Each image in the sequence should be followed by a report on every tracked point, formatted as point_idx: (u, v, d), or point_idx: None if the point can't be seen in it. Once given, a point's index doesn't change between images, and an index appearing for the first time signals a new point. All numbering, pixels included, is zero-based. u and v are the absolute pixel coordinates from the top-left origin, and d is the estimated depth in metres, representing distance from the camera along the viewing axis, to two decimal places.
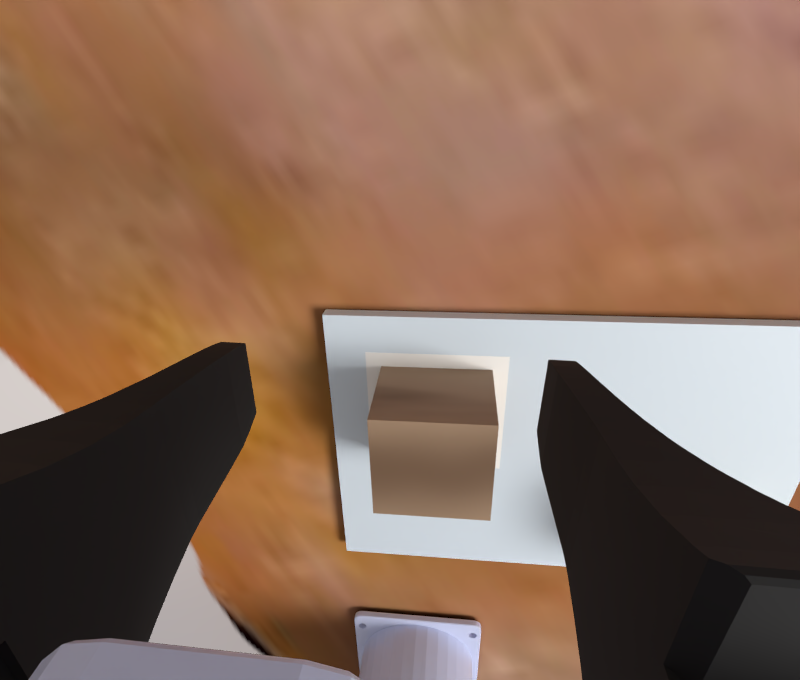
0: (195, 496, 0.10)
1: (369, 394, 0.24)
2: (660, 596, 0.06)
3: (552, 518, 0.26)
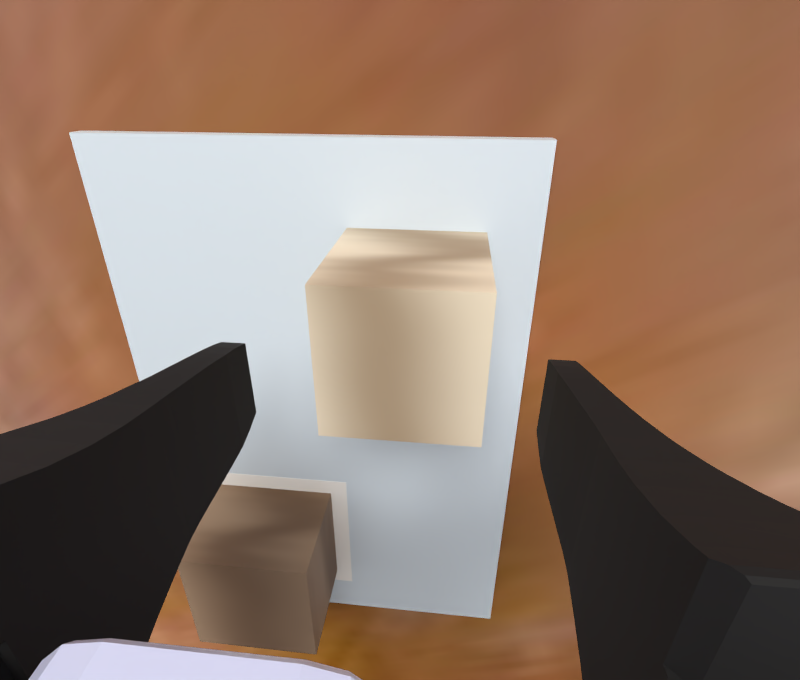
0: (195, 496, 0.10)
1: None
2: (660, 596, 0.06)
3: None
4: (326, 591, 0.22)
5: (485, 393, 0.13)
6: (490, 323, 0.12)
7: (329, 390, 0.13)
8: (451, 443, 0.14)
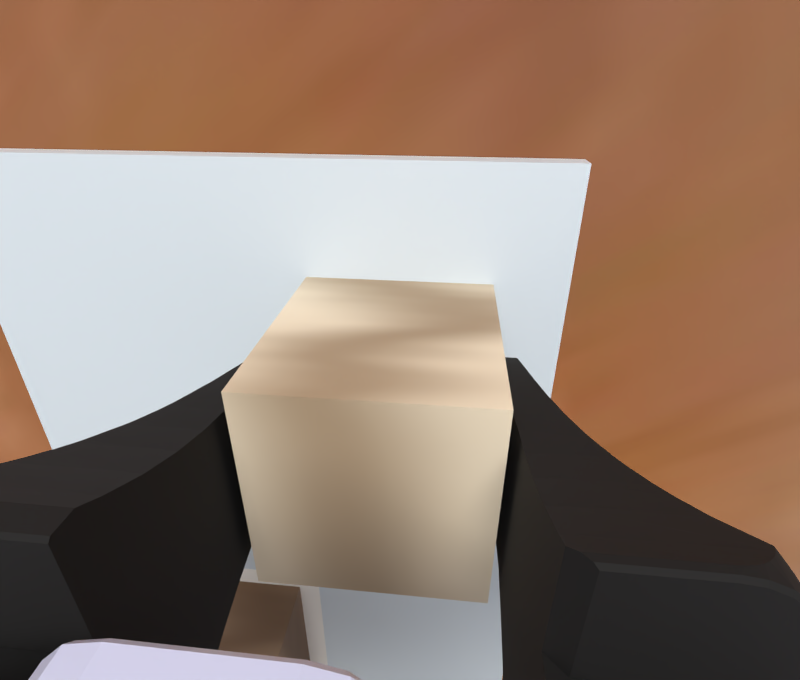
0: None
1: None
2: (542, 585, 0.06)
3: None
4: None
5: (494, 539, 0.09)
6: (502, 451, 0.08)
7: (269, 528, 0.09)
8: (445, 596, 0.10)
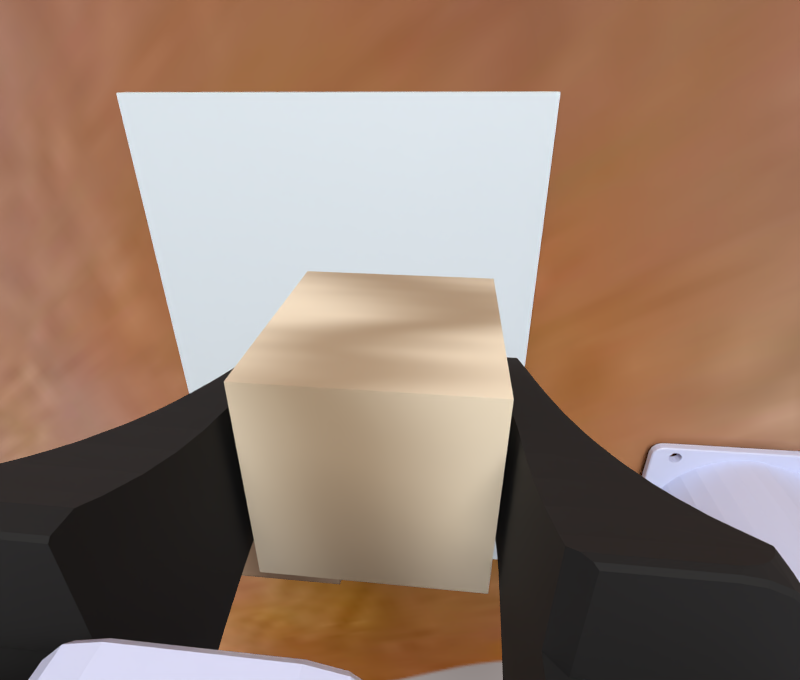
0: None
1: None
2: (541, 585, 0.06)
3: None
4: None
5: (494, 529, 0.09)
6: (503, 440, 0.08)
7: (270, 518, 0.09)
8: (446, 587, 0.10)
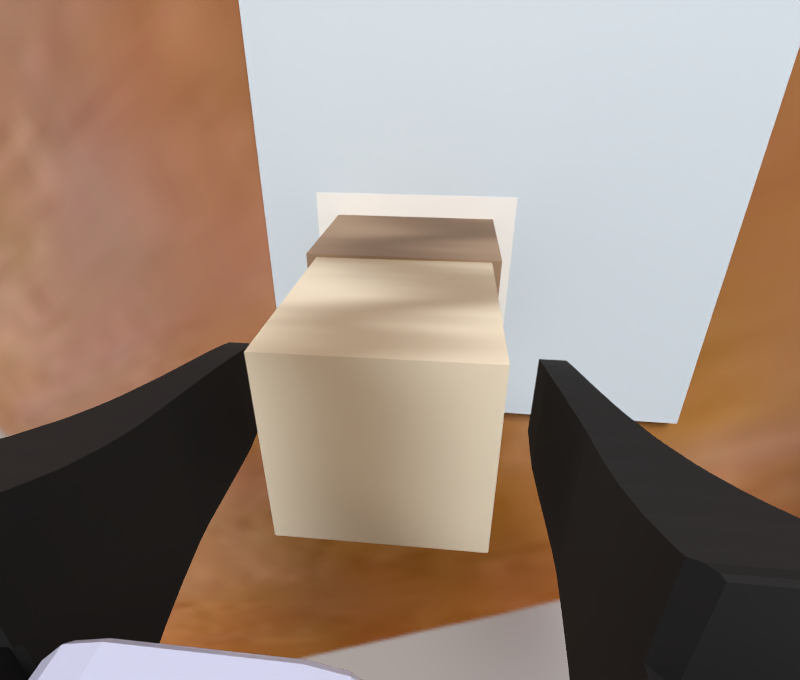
0: (205, 497, 0.10)
1: None
2: (641, 594, 0.06)
3: (646, 93, 0.14)
4: None
5: (493, 490, 0.10)
6: (500, 404, 0.09)
7: (286, 482, 0.10)
8: (449, 547, 0.10)
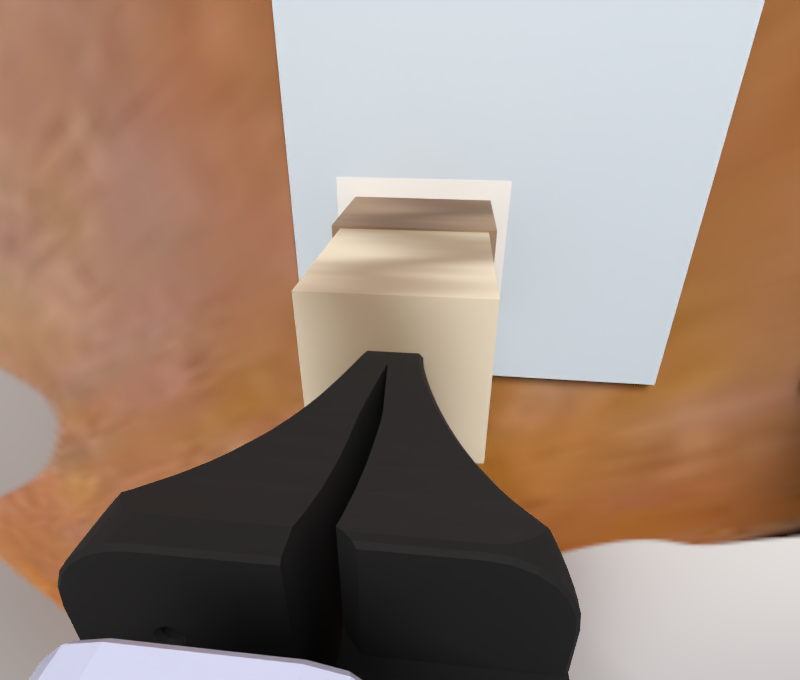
0: None
1: None
2: None
3: (622, 89, 0.16)
4: None
5: (487, 406, 0.12)
6: (493, 332, 0.11)
7: None
8: None
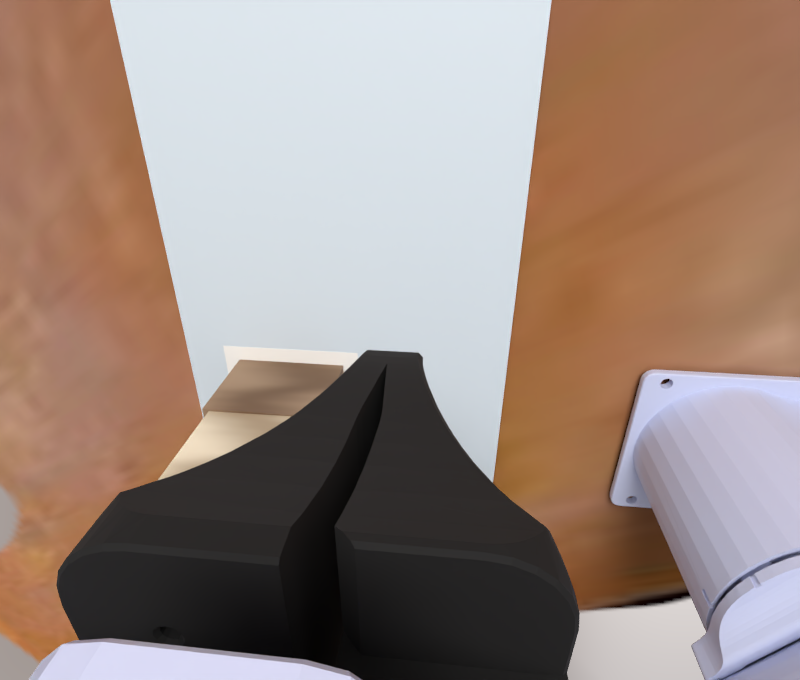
0: None
1: None
2: None
3: (429, 297, 0.21)
4: None
5: None
6: None
7: None
8: None
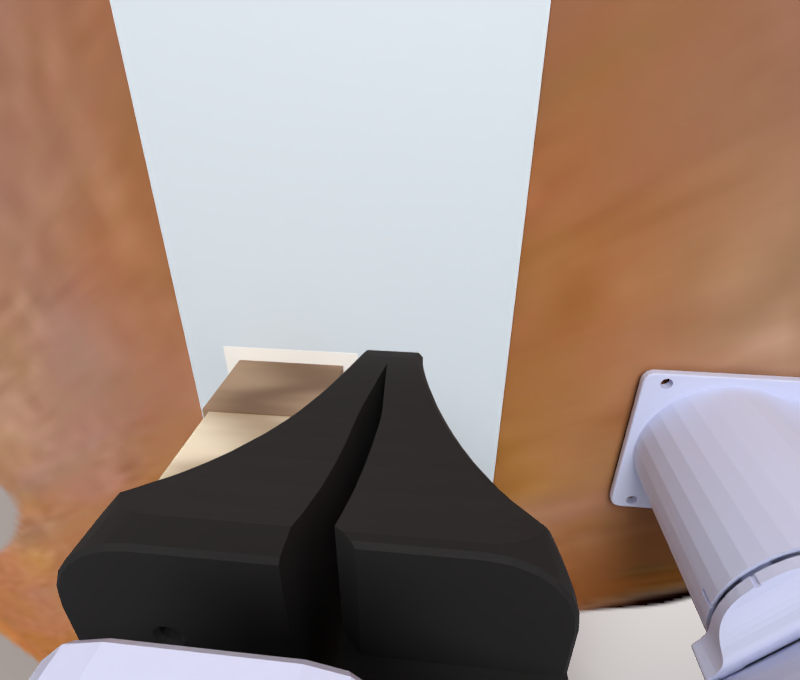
0: None
1: None
2: None
3: (429, 297, 0.21)
4: None
5: None
6: None
7: None
8: None
